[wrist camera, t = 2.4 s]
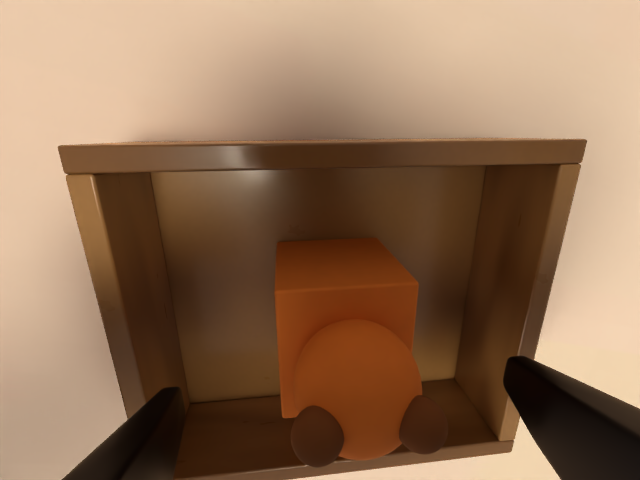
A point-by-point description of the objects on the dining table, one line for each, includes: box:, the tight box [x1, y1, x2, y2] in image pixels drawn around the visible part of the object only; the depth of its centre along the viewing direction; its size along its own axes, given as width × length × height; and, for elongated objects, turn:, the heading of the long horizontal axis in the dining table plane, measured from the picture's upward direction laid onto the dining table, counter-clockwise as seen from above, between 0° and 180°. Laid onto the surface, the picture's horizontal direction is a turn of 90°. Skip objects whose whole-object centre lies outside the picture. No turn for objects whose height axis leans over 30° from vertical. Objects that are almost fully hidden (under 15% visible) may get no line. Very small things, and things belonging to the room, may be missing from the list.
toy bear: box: [274, 238, 448, 468], centre depth 10 cm, size 5×4×8 cm
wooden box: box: [58, 138, 587, 480], centre depth 12 cm, size 12×14×4 cm
